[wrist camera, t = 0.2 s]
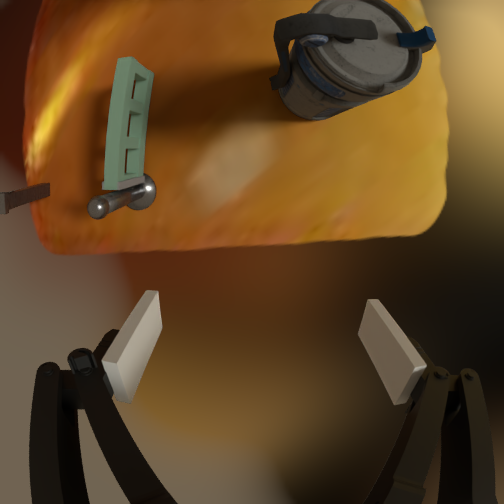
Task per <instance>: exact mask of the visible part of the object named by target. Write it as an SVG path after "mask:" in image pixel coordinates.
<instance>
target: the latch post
mask: <svg viewBox="0 0 504 504" xmlns="http://www.w3.org/2000/svg"><path fill="white" fill-rule="evenodd" d="M47 196H50V183H41V184H37V185H33V186H29V187H25V188H21V189H18V190H15V191H11V192H2V193H0V214H7V213H9V209H12V208H15V207H18V206H20V205H23V204H26V203H29V202H32V201H35V200H38V199H41V198H44V197H47Z"/></svg>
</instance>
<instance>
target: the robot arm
mask: <svg viewBox="0 0 504 504" xmlns="http://www.w3.org/2000/svg"><path fill="white" fill-rule="evenodd" d="M161 330H162V321H161V314H160V305H159V296H158V291H149V290H146V292H145V293H144V295H143V296H142V298H141V299H140V301H139V302H138V304H137V305H136V307H135V308H134V310H133V311H132V313H131V314H130V316H129V317H128V319H127V320H126V322H125V323H124V325H123V326H122V328H121V330H115V329H112V330H110V331H109V332H108V333H106V334H105V335H104V337H103V338H102V341H101V342H100V343H99V345H98V346H97V347H96V349H95V350H94V352H93V353H92V351H91V350H89V349H86V348H80V349H76V350H73V351H72V352H71V353H70V354H69V356H68V363H69V365H70V368H71V370H60V368H59V366H58V365H57V364H56V363H53V362H46V363H44V364H42V365H41V366H40V367H39V368H38V370H37V374H36V379H35V386H34V393H33V401H32V411H31V422H30V442H29V467H30V486H31V497H32V504H90V503H89V498H88V493H87V488H86V483H85V478H84V472H83V465H82V458H81V450H80V441H79V428H78V411H77V409H85V412H86V414H87V417H88V420H89V422H90V425H91V427H92V430H93V432H94V434H95V437H96V439H97V441H98V443H99V446H100V448H101V450H102V452H103V454H104V456H105V458H106V461H107V463H108V465H109V467H110V468H111V471H112V472H113V474H114V476H115V478H116V480H117V481H118V483H119V485H120V487H121V489H122V490H123V492H124V494H125V495H126V497H127V499H128V500H129V502H130V504H177V502H176V501H175V500H174V499H173V497H172V496H171V495H170V494H169V493H168V491H167V490H166V489H165V488H164V486H163V485H162V483H161V482H160V480H159V479H158V478H157V476H156V475H155V473H154V472H153V470H152V469H151V468H150V466H149V464H148V463H147V461H146V460H145V458H144V457H143V455H142V453H141V452H140V450H139V448H138V447H137V445H136V443H135V442H134V440H133V438H132V437H131V435H130V433H129V431H128V429H127V428H126V426H125V424H124V422H123V420H122V418H121V416H120V415H119V412H118V410H117V408H116V406H115V404H114V403H113V400H112V396H113V394H114V395H115V398H116V400H117V401H121V402H125V403H131V402H132V399H133V397H134V394H135V391H136V389H137V387H138V384H139V381H140V379H141V377H142V374H143V372H144V369H145V367H146V365H147V362H148V360H149V358H150V355H151V353H152V351H153V348H154V346H155V344H156V341H157V339H158V337H159V335H160V332H161ZM358 335H359V337H360V339H361V341H362V343H363V344H364V346H365V348H366V350H367V352H368V354H369V356H370V358H371V360H372V362H373V364H374V365H375V368H376V369H377V371H378V373H379V375H380V377H381V379H382V381H383V383H384V385H385V387H386V389H387V391H388V393H389V395H390V397H391V399H392V402H393V403H394V405H397V404H402V403H406V401H407V400H408V398H409V397H410V395H411V397H412V399H413V401H412V402H411V404H410V406H409V407H408V409H407V411H406V412H405V413H407V415H406V418H405V420H404V423H403V425H402V428H401V431H400V433H399V435H398V437H397V440H396V442H395V444H394V447H393V449H392V451H391V453H390V455H389V457H388V460H387V461H386V464H385V466H384V468H383V470H382V471H381V473H380V475H379V477H378V479H377V481H376V483H375V484H374V486H373V488H372V490H371V491H370V493H369V495H368V497H367V498H366V500H365V501H364V503H363V504H421V503H422V501H423V498H424V496H425V492H426V489H424V488H423V484H424V481H425V479H426V476H427V473H428V470H429V467H430V464H431V461H432V458H433V455H434V452H435V448H436V444H437V441H438V437H439V433H440V430H441V467H440V468H441V469H440V482H439V493H438V501H437V504H498V502H497V499H496V496H495V468H494V456H493V446H492V438H491V431H490V425H489V419H488V414H487V409H486V404H485V400H484V396H483V391H482V387H481V383H480V379H479V376H478V374H477V373H476V372H475V371H474V370H472V369H469V368H466V369H463V370H462V371H461V373H460V374H459V375H450V374H449V372H448V371H447V370H445V369H444V368H442V367H435V366H434V364H433V363H432V361H431V360H430V359H429V357H428V356H427V355H426V353H424V351H423V349H422V348H421V347H420V345H419V344H418V343H417V341H415V340H414V339H412V338H411V337H406V335H405V334H404V333H403V331H402V330H401V329H400V327H399V326H398V325H397V323H396V322H395V321H394V319H393V318H392V317H391V316H390V314H389V313H388V312H387V311H386V309H385V308H384V307H383V305H382V304H381V303H380V302H379V300H377V299H374V300H373V299H371V300H368V301H367V305H366V308H365V312H364V316H363V319H362V322H361V326H360V329H359V332H358Z"/></svg>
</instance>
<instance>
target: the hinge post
mask: <svg viewBox="0 0 504 504" xmlns="http://www.w3.org/2000/svg"><path fill="white" fill-rule="evenodd" d="M143 176H145V182H144V183H140V184H137V185H134V186H131V187H127V188H124V189H121V190H117V191H114V192H111V193H108V194H105V195H102V196H100V195H97V196H94V197H92V198H91V199H90V201H89V202H88V205H87V211H88V214H89V215H90V216H91V217H92V218H94V219H102V218H104V217H105V216H106V215H107V214H109V213H111V212H113V211H115V210H117V209H119V208H121V207H123V206H125V205H128V206H129V207H130V208H132V209H135V210H143V209H145V208H147V207H149V206H150V205H151V204H152V203H153V201H154V199H155V197H156V186H155V183H154V181H153V180H152V178H151V177H150V176H148V175H147V174H145V173H143Z"/></svg>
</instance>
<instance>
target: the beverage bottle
mask: <svg viewBox="0 0 504 504" xmlns="http://www.w3.org/2000/svg"><path fill="white" fill-rule="evenodd" d="M273 37H274V42H275V46H276V50H277V53H278V57H279V61H280V68H279V71H278V74H277V75H275V76H273V77H271V78H269V79H270V81H271V86H272V90H276V89H279V94H280V97H281V99H282V101H283V103H284V104H285V105H286V107H287V108H288V109H289V110H290V111H291V112H293V113H294V114H296V115H297V116H299V117H302V118H304V119H308V120H324V119H327V118H330V117H332V116H335V115H337V114H339V113H342V112H344V111H347V110H349V109H351V108H354V107H356V106H359V105H362V104H364V103H367V102H368V101H371V100H374V99H377V98H380V97H382V96H385V95H388V94H391V93H393V92H395V91H397V90H400V89H402V88H403V87H405V86H407V85H408V84H409V83H410V82H411V81H412V80H413V79H414V78H415V77H416V75H417V74H418V72H419V70H420V67H421V63H422V53H425V52H427V51H429V50H431V49H432V47H433V46H434V44H435V42H436V38H435V35H434V33H433V30H432V28H431V27H428V26H425V27H424V28H423V29H421V30H419V31H416V32H415V31H414V29H413V27H412V26H411V24H410V23H409V22H408V20H407V19H406V18H405V17H404V16H403V15H402V14H401V13H400V12H399V11H398V10H397V9H396V8H394V7H393V6H392V5H390V4H389V3H388V2H386V1H384V0H321V1H319V2H318V3H316V4H315V5H314V6H313V7H312V9H311V10H310V11H308V12H307V13H300V14H297V15H293V16H290V17H287V18H283V19H280V20H278V21H276V24H275V30H274V36H273ZM293 39H295V42H294V44H293V47H292V49H291V51H290V54H289V50H288V46H289V43H290V41H291V40H293Z"/></svg>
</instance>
